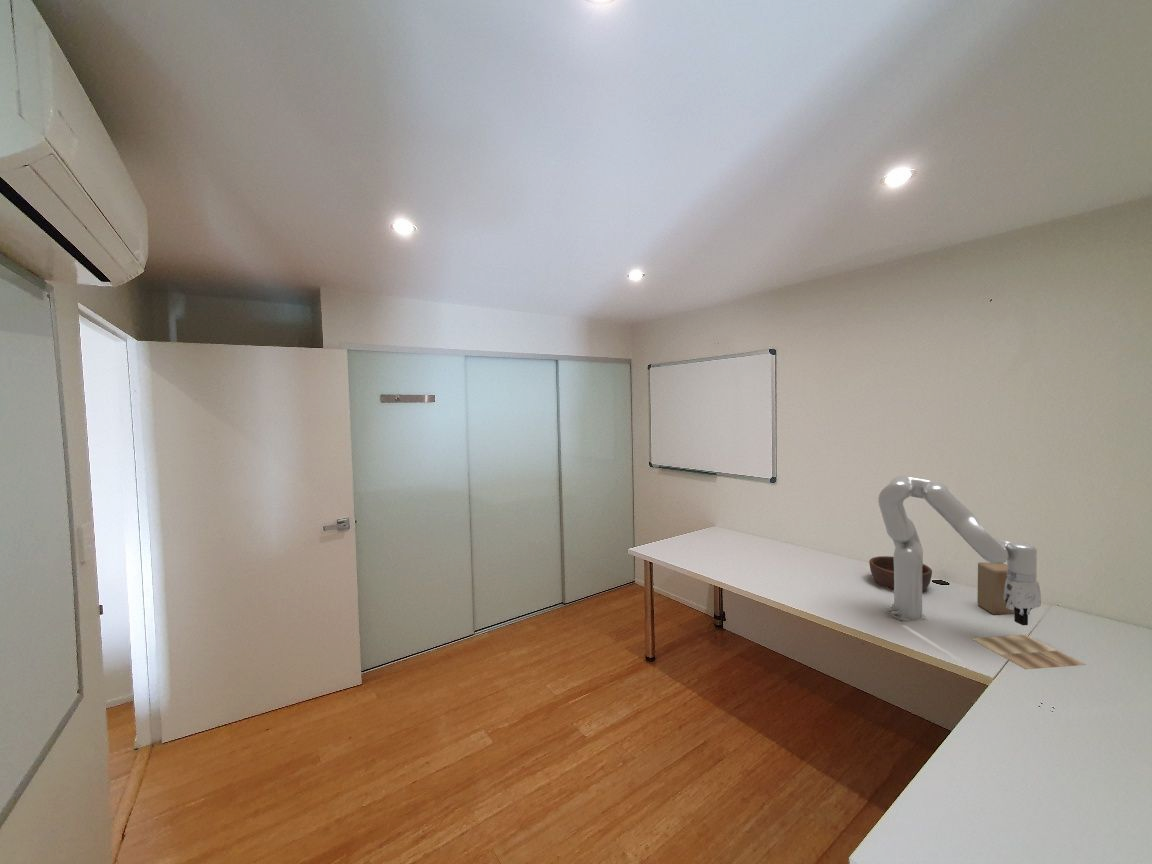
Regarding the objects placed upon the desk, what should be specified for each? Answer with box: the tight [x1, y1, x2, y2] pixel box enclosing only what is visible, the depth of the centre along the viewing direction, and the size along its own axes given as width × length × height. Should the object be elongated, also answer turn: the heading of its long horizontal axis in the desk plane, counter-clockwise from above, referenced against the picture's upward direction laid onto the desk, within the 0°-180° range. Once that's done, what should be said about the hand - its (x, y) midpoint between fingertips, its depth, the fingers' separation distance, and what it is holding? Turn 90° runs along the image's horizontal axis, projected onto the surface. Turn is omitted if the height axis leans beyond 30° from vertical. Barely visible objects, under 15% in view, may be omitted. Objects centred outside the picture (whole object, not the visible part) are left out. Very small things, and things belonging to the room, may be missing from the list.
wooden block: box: [977, 561, 1015, 616], centre depth 180 cm, size 10×10×20 cm
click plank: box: [971, 634, 1058, 656], centre depth 154 cm, size 22×10×1 cm, turn 93°
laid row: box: [1000, 650, 1087, 670], centre depth 144 cm, size 22×8×1 cm, turn 93°
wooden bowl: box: [868, 555, 933, 592], centre depth 209 cm, size 25×25×10 cm
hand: (1021, 623), depth 156 cm, fingers closed
